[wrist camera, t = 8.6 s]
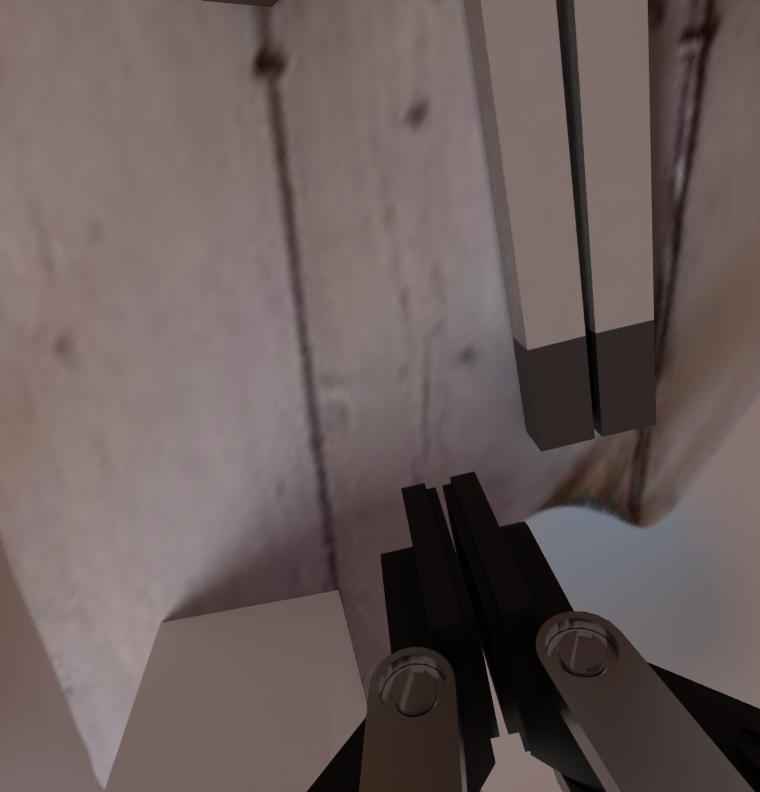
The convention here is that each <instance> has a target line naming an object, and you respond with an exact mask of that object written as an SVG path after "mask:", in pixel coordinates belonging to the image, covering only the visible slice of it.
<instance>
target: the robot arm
mask: <svg viewBox="0 0 760 792" xmlns="http://www.w3.org/2000/svg"><path fill="white" fill-rule="evenodd" d="M450 480H451V484H447V485H443V491H444V496H445V501H446V505H447V510H448V515H449V520H450V525H451V530H452V535H453V539H454V544H455V549H456V552H455V549H454V546H453V542H452V539H451V536H450V533H449V529H448V526H447V523H446V520H445V517H444V513H443V510H442V507H441V504H440V500H439V497H438V494H437V491H436V488H435V487H434V488H430V489H426V486H425V483H423V484H418V485H414V486H410V487H405V488H401V489H402V494H403V499H404V504H405V509H406V514H407V519H408V524H409V529H410V534H411V539H412V544H413V547H410V548H405V549H401V550H397V551H392V552H388V553H384V554H381V565H382V574H383V583H384V592H385V601H386V610H387V618H388V627H389V636H390V645H391V655H389V656H388V657H387V658H386V659H385V660H383V661H382V662H381V663H380V664H379V665H378V667H377V669H376V670H375V672H374V674H373V675H372V678H371V682H370V686H369V693H368V703H367V714H366V717H365V719H364V720H363V721H362V722H361V724H360V725H359V726H358V728H357V729H356V730H355V731H354V733H353V734H352V735H351V736H350V738H349V739H348V740H347V741H346V743H345V744H344V745H343V746H342V748H341V749H340V750H339V751H338V753H337V754H336V755H335V756H334V758H333V759H332V760H331V762H330V763H329V764H328V765H327V767H326V768H325V769H324V770H323V772H322V773H321V774H320V775H319V777H318V778H317V779H316V780H315V782H314V783H313V784H312V785H311V787H310V788H309V789H308V790H307V792H482V791H481V788H482V786H483V784H484V782H485V781H486V779H487V777H488V775H489V774H490V772H491V770H492V768H493V767H494V765H495V758H494V754H493V749H492V744H491V740H490V739H491V738H495V737H499V730H498V725H497V721H496V716H495V710H494V706H493V700H492V695H491V691H490V685H489V681H488V675H487V671H486V665H485V660H484V656H485V659H486V662H487V666H488V669H489V672H490V676H491V679H492V682H493V686H494V688H495V692H496V695H497V699H498V702H499V705H500V709H501V711H502V715H503V718H504V722H505V725H506V728H507V731H508V734H513V733H517V732H519V733H520V736H521V739H522V743H523V746H524V749H525V752H526V751H530V752H531V755H532V756H534V757H536V758H537V759H539V760H540V761H542V762H544V763H546V764H547V765H549V766H550V767H552V768H553V770H554V773H555V776H556V779H557V782H558V784H559V786H560V788H561V790H562V791H563V792H760V709H759V708H756V707H754V706H752V705H749V704H747V703H745V702H742V701H740V700H737V699H735V698H733V697H730V696H728V695H725V694H723V693H720V692H718V691H716V690H713V689H711V688H708V687H706V686H704V685H701V684H699V683H696V682H694V681H692V680H689V679H687V678H684V677H682V676H680V675H677V674H675V673H672V672H670V671H667V670H665V669H663V668H660V667H658V666H655V665H653V664H651V663H648V662H646V661H645V660H644V658H643V657H642V656H641V655H640V654H639V652H638V651H637V650H636V649H635V648H634V646H633V645H632V644H631V643H630V642H629V640H628V639H627V638H626V637H625V636H624V634H623V633H622V632H621V631H620V630H619V629H618V628H617V627H615V625H613V624H612V623H611V622H610V621H608V620H606V619H604V618H602V617H600V616H598V615H595V614H591V613H587V612H577V611H573V609H572V607H571V605H570V603H569V601H568V599H567V598H566V596H565V594H564V592H563V590H562V588H561V586H560V585H559V583H558V581H557V579H556V577H555V575H554V573H553V572H552V570H551V568H550V566H549V564H548V562H547V560H546V558H545V557H544V555H543V553H542V551H541V549H540V547H539V545H538V544H537V542H536V540H535V538H534V536H533V534H532V532H531V531H530V529H529V527H528V525H527V524H526V523H525V522H524V521H523V522H519V523H514V524H510V525H506V526H501V527H499V525H498V523H497V520H496V518H495V516H494V514H493V512H492V509H491V507H490V505H489V503H488V501H487V498H486V496H485V494H484V492H483V490H482V487H481V485H480V483H479V481H478V479H477V476H476V474H475V472H470V473H466V474H462V475H457V476H453V477H450ZM456 554H457V555H456ZM482 649H483V650H482ZM483 653H484V656H483Z"/></svg>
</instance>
